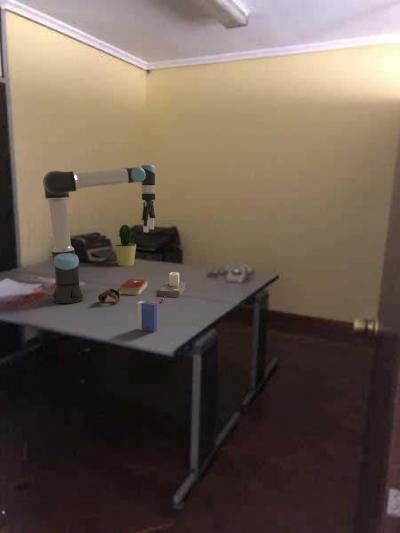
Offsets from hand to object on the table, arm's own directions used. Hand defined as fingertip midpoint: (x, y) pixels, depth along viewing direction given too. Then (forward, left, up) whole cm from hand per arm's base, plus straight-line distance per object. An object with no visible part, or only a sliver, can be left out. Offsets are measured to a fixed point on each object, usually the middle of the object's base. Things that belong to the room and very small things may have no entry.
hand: (148, 230), depth 225 cm
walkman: (-69, -16, -33) cm, 78 cm away
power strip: (-16, -16, -33) cm, 40 cm away
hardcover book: (-10, +7, -33) cm, 35 cm away
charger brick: (-6, -16, -32) cm, 36 cm away
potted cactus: (+55, +31, -33) cm, 71 cm away
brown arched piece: (-37, +12, -33) cm, 51 cm away
